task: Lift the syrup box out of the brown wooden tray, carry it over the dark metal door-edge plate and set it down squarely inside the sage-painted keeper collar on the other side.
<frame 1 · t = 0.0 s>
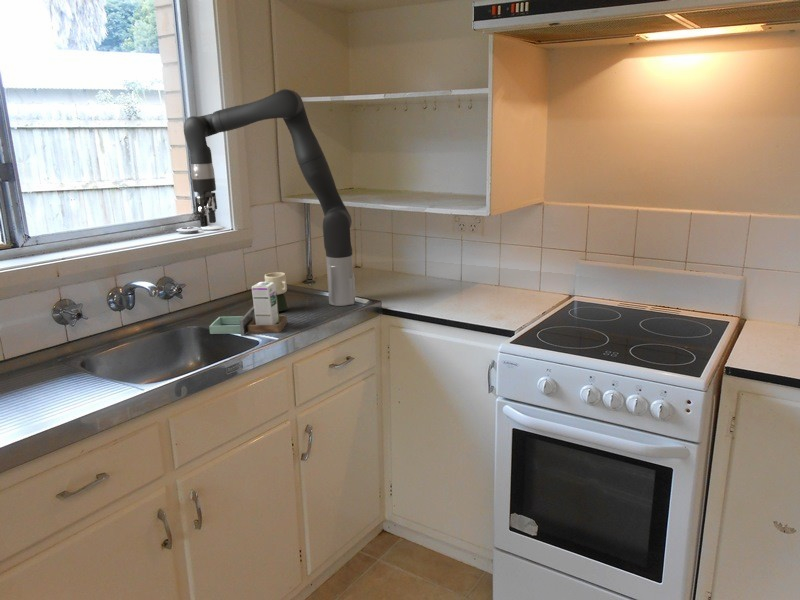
hand: (208, 224, 218), 29 cm above the table, fingers open, 8 cm apart
syrup box: (268, 328, 198), resting in brown wooden tray
brown wooden tray: (268, 327, 198), on the table
door edge plate: (249, 328, 199), on the table
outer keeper: (230, 328, 199), on the table
character mug: (278, 311, 216), on the table
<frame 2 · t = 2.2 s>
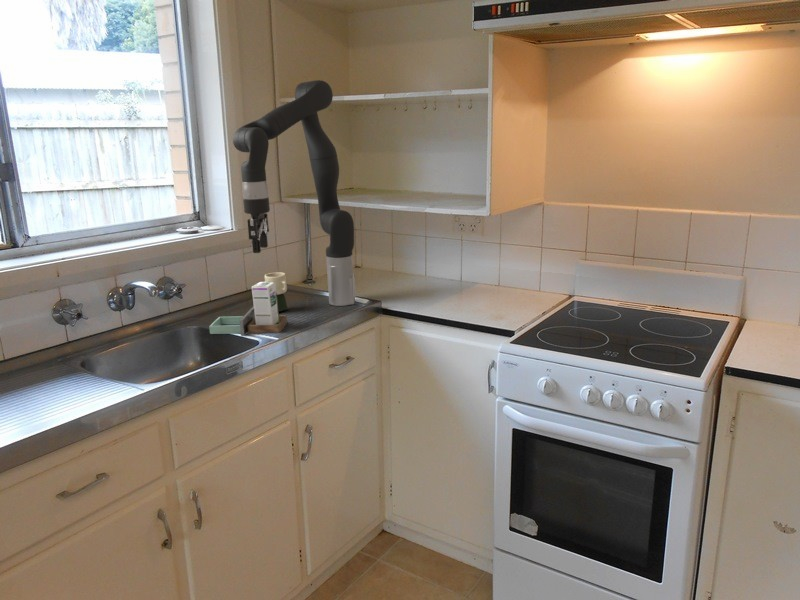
hand: (260, 250, 192), 25 cm above the table, fingers open, 8 cm apart
nothing on the table moved.
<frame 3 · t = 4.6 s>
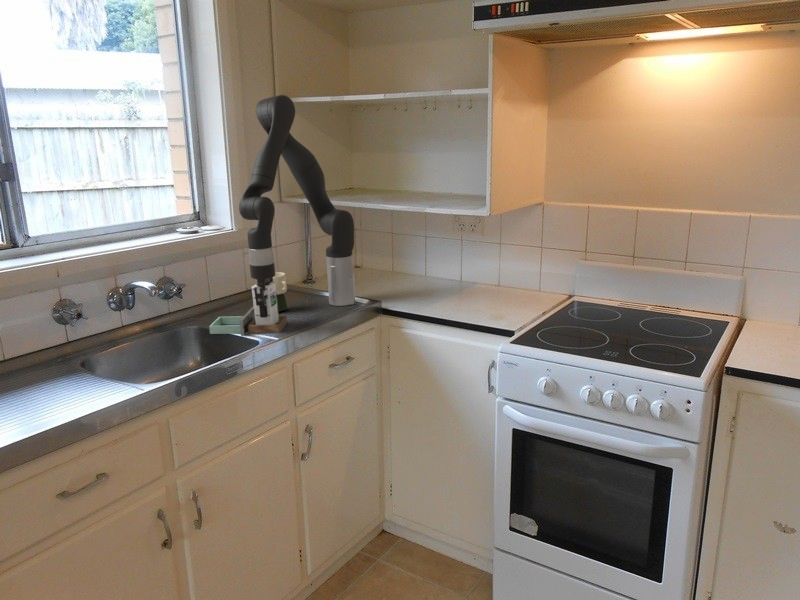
hand: (266, 313, 197), 5 cm above the table, fingers closed on syrup box, 6 cm apart
syrup box: (268, 328, 198), resting in brown wooden tray, touching gripper
everything else where it was.
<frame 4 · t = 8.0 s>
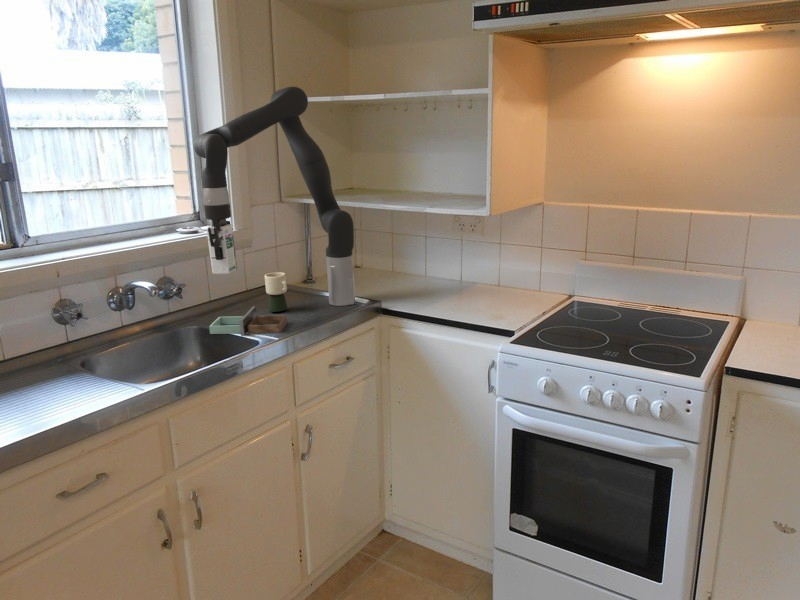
hand: (223, 257, 193), 23 cm above the table, fingers closed on syrup box, 6 cm apart
syrup box: (224, 272, 194), point 18 cm above the table, touching gripper
everything else where it was.
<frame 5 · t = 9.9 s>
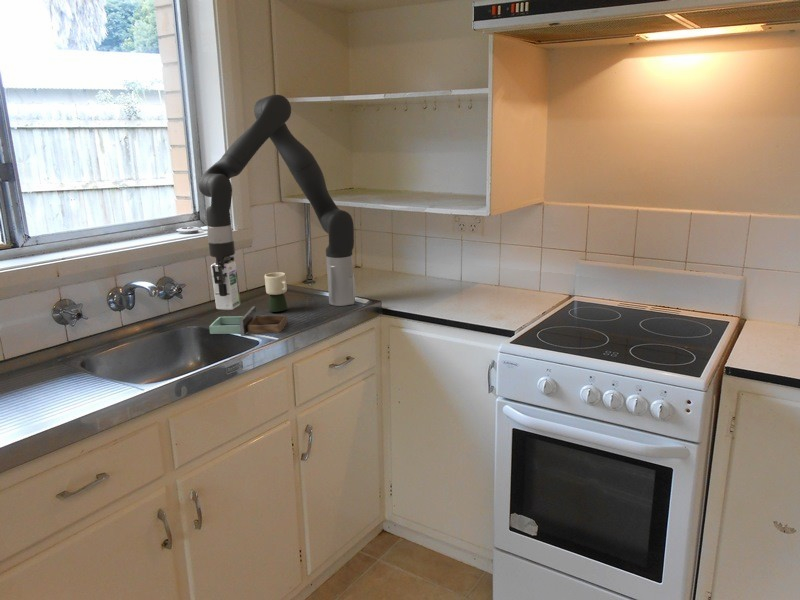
hand: (226, 292, 196), 12 cm above the table, fingers closed on syrup box, 6 cm apart
syrup box: (228, 307, 197), point 7 cm above the table, touching gripper
everything else where it was.
when the fingers open (6 cm above the table, at t = 11.6 s): syrup box drops 1 cm, resting in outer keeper.
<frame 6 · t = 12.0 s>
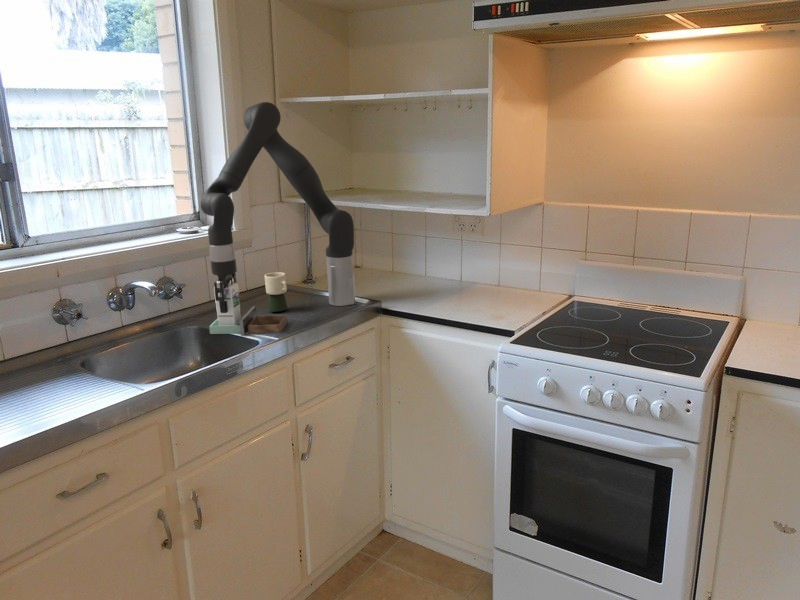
hand: (228, 308, 197), 7 cm above the table, fingers open, 8 cm apart
syrup box: (231, 329, 199), resting in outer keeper
everything else where it was.
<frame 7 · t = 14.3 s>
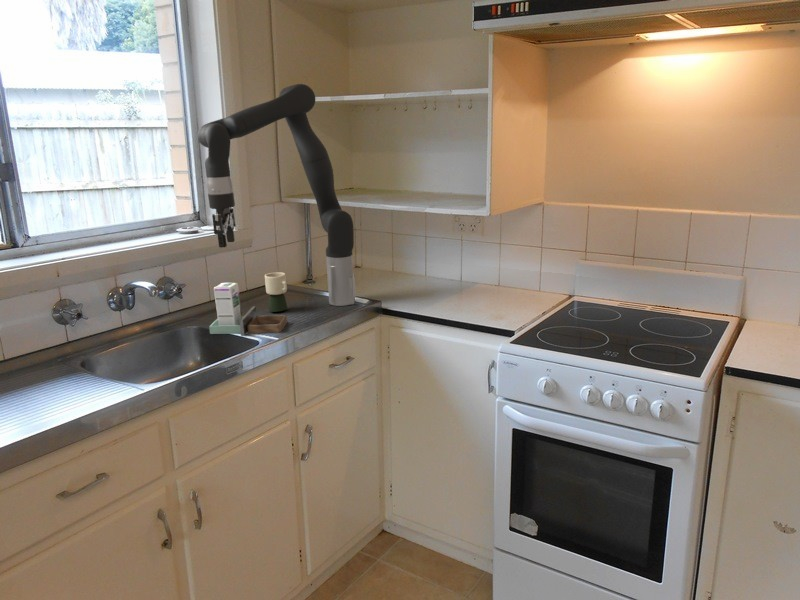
hand: (227, 244, 194), 27 cm above the table, fingers open, 8 cm apart
nothing on the table moved.
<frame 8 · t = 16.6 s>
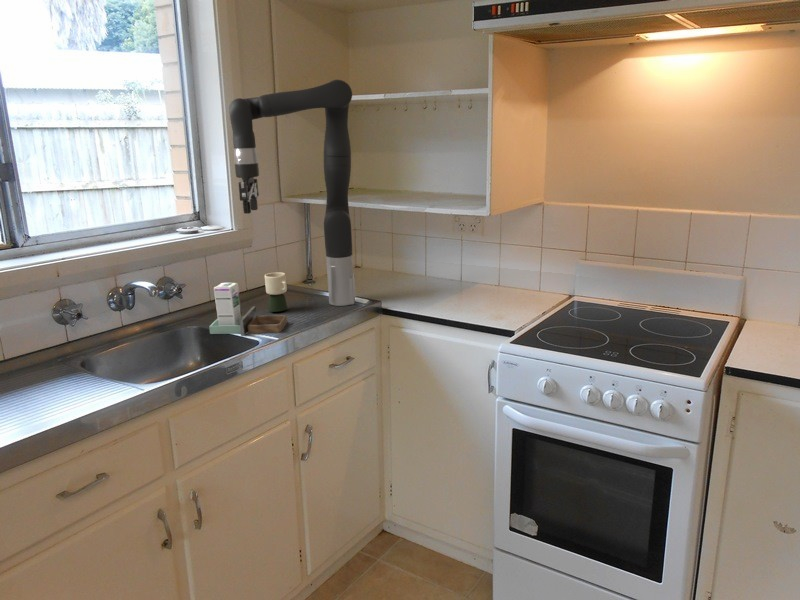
hand: (251, 211, 210), 34 cm above the table, fingers open, 8 cm apart
nothing on the table moved.
at the end: syrup box 0.1 cm off-centre on the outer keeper, point 0.0 cm above the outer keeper's base; syrup box tilted 0°; the gripper is holding nothing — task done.
